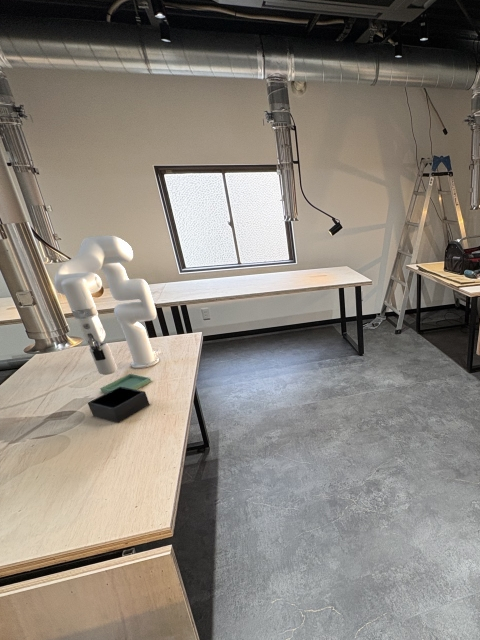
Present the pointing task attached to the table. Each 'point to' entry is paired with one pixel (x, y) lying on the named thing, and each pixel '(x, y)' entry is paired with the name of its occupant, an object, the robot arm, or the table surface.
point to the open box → (118, 404)
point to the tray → (127, 383)
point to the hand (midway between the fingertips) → (102, 355)
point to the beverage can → (108, 364)
